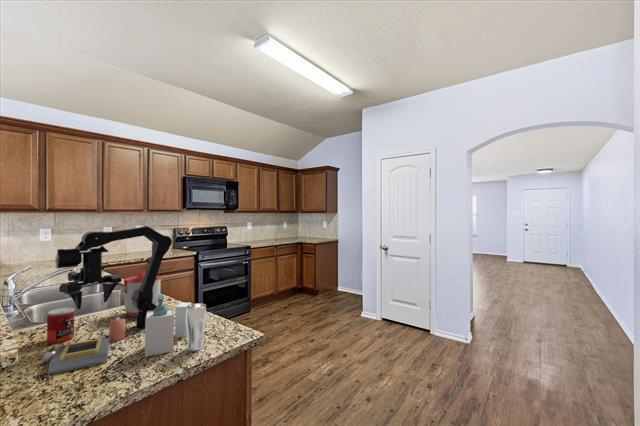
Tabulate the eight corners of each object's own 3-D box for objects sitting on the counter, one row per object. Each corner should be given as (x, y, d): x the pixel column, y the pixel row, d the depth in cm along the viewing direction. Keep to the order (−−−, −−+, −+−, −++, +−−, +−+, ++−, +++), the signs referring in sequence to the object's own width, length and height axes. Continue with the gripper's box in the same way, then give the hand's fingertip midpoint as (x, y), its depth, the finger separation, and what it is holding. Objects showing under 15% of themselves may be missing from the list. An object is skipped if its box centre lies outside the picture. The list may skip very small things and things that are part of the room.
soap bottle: (144, 357, 98) (145, 300, 98) (146, 346, 105) (147, 293, 106) (173, 352, 102) (174, 297, 102) (172, 342, 109) (174, 291, 110)
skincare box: (180, 331, 120) (181, 302, 120) (191, 331, 120) (191, 302, 120) (174, 337, 114) (175, 306, 114) (185, 337, 114) (186, 306, 114)
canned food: (58, 345, 106) (58, 314, 106) (40, 342, 107) (41, 312, 108) (79, 336, 113) (80, 308, 113) (62, 334, 115) (63, 306, 115)
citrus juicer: (115, 313, 140) (116, 272, 141) (155, 306, 152) (156, 268, 152) (121, 322, 129) (122, 277, 129) (164, 314, 141) (165, 272, 141)
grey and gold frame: (109, 346, 106) (110, 334, 106) (107, 362, 94) (107, 349, 94) (46, 357, 96) (46, 345, 96) (34, 377, 85) (35, 363, 85)
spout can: (125, 335, 115) (125, 313, 115) (124, 339, 111) (125, 317, 111) (109, 338, 112) (110, 315, 113) (108, 342, 108) (109, 319, 108)
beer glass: (209, 345, 107) (210, 304, 108) (196, 353, 101) (196, 309, 101) (194, 342, 110) (195, 302, 110) (180, 350, 103) (181, 307, 103)
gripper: (104, 259, 123) (104, 296, 123) (50, 267, 106) (50, 310, 106) (122, 261, 119) (122, 299, 119) (68, 269, 102) (68, 314, 102)
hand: (92, 305), depth 111 cm, fingers open, 9 cm apart
